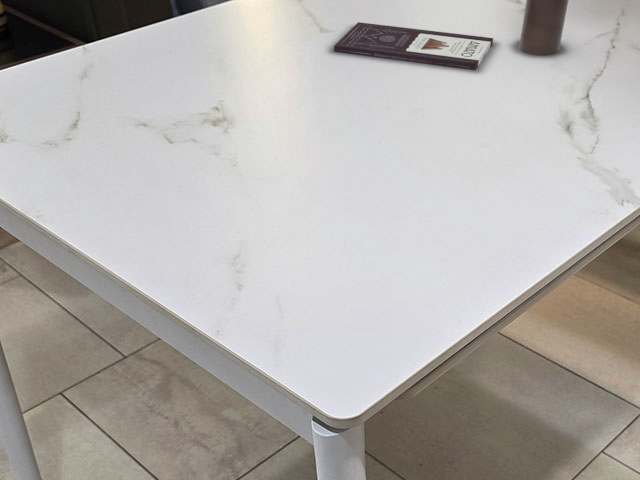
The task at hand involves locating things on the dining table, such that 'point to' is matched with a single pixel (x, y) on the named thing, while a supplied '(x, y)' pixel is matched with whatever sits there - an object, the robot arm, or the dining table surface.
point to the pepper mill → (543, 26)
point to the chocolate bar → (415, 45)
